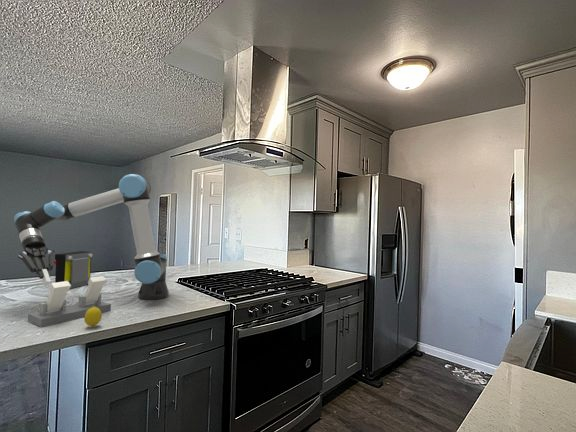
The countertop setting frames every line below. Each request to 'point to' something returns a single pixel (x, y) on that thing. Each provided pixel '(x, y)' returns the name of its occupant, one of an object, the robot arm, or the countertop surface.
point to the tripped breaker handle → (57, 295)
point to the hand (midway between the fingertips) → (47, 283)
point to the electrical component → (73, 268)
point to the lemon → (93, 316)
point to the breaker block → (65, 312)
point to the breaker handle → (94, 289)
